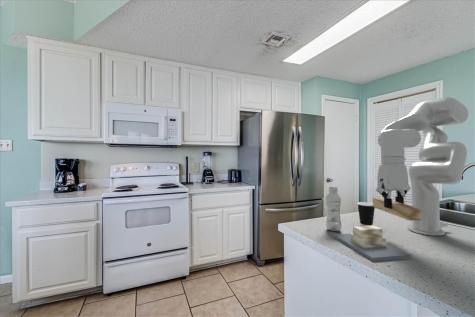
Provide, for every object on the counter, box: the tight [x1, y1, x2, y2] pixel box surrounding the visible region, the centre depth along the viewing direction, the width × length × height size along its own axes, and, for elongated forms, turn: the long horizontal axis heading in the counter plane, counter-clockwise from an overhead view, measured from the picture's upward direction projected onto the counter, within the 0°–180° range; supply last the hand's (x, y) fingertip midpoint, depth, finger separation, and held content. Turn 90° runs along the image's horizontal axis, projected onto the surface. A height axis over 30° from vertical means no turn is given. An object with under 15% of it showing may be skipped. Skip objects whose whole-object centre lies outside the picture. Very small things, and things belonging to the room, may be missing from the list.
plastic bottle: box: [325, 186, 343, 232], centre depth 101 cm, size 6×7×20 cm
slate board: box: [333, 233, 412, 263], centre depth 83 cm, size 14×22×1 cm, turn 8°
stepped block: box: [350, 225, 387, 248], centre depth 83 cm, size 9×7×6 cm
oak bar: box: [372, 196, 421, 222], centre depth 86 cm, size 4×20×4 cm, turn 1°
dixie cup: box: [356, 201, 376, 226], centre depth 108 cm, size 8×8×11 cm
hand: (393, 207), depth 86 cm, fingers closed on oak bar, 4 cm apart
